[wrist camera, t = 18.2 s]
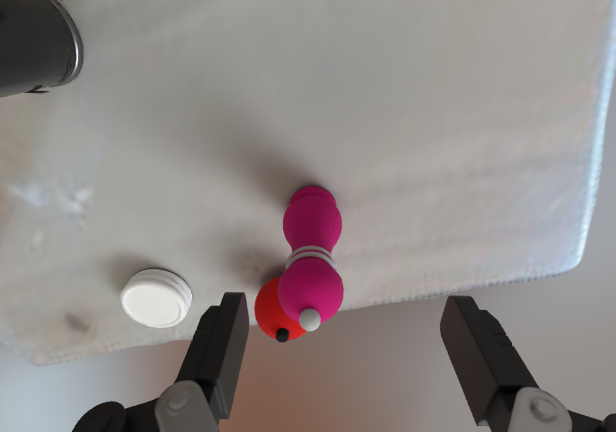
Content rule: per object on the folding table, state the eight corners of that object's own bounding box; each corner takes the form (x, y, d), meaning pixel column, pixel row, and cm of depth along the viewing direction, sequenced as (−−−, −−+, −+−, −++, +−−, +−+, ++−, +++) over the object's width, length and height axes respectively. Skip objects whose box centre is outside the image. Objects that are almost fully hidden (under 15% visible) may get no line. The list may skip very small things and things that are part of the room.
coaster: (150, 316, 55) (141, 333, 51) (118, 274, 50) (105, 290, 47) (203, 306, 53) (196, 323, 50) (174, 261, 48) (165, 277, 45)
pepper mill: (316, 171, 40) (316, 280, 23) (350, 209, 43) (372, 333, 25) (274, 203, 42) (245, 323, 25) (309, 237, 45) (304, 367, 28)
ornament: (260, 260, 48) (247, 312, 39) (319, 266, 48) (320, 318, 39) (259, 303, 52) (247, 357, 44) (313, 308, 52) (312, 363, 44)
